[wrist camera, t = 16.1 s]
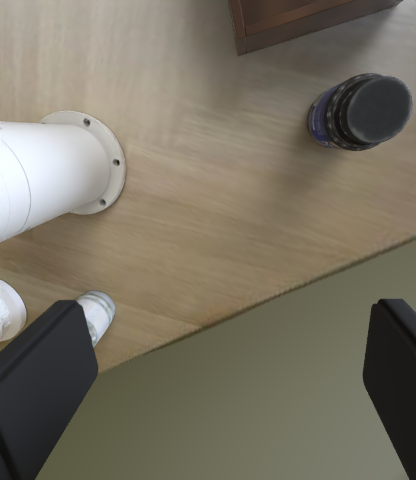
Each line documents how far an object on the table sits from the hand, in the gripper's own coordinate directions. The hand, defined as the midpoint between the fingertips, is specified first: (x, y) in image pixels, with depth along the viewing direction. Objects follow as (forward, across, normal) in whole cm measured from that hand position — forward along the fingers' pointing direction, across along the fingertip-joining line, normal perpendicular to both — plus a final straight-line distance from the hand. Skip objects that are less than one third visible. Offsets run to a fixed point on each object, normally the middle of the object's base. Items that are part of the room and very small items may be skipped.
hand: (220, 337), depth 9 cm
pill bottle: (+28, -11, -7) cm, 31 cm away
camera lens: (+28, +22, +17) cm, 40 cm away
